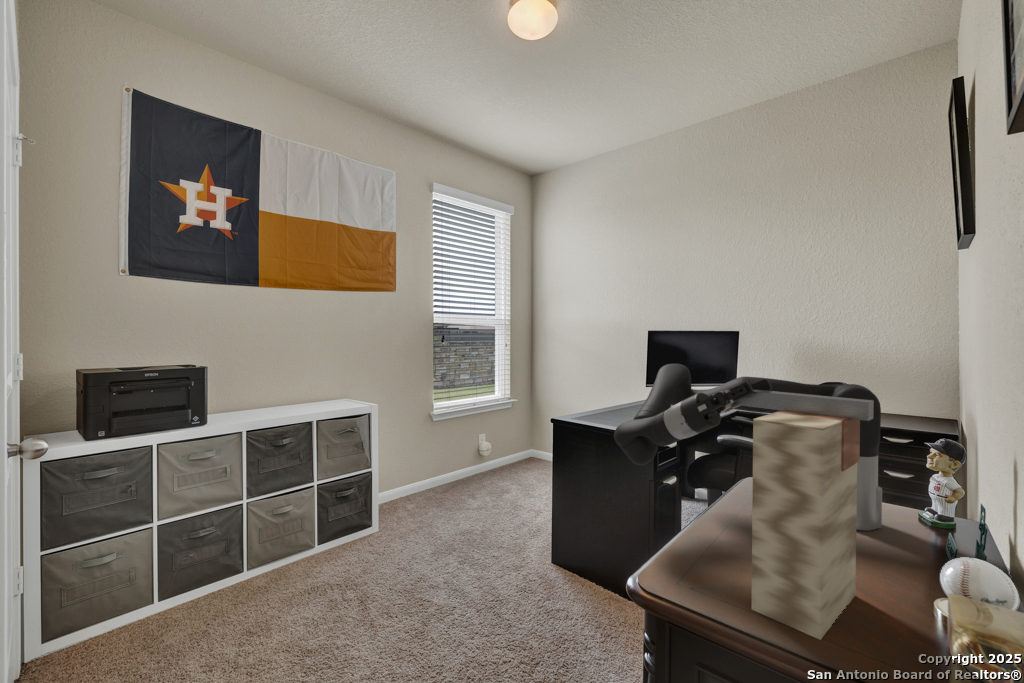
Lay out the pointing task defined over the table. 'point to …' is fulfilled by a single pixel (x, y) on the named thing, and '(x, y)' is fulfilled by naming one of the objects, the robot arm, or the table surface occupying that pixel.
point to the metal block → (809, 404)
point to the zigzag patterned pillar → (804, 518)
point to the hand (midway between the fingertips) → (760, 385)
